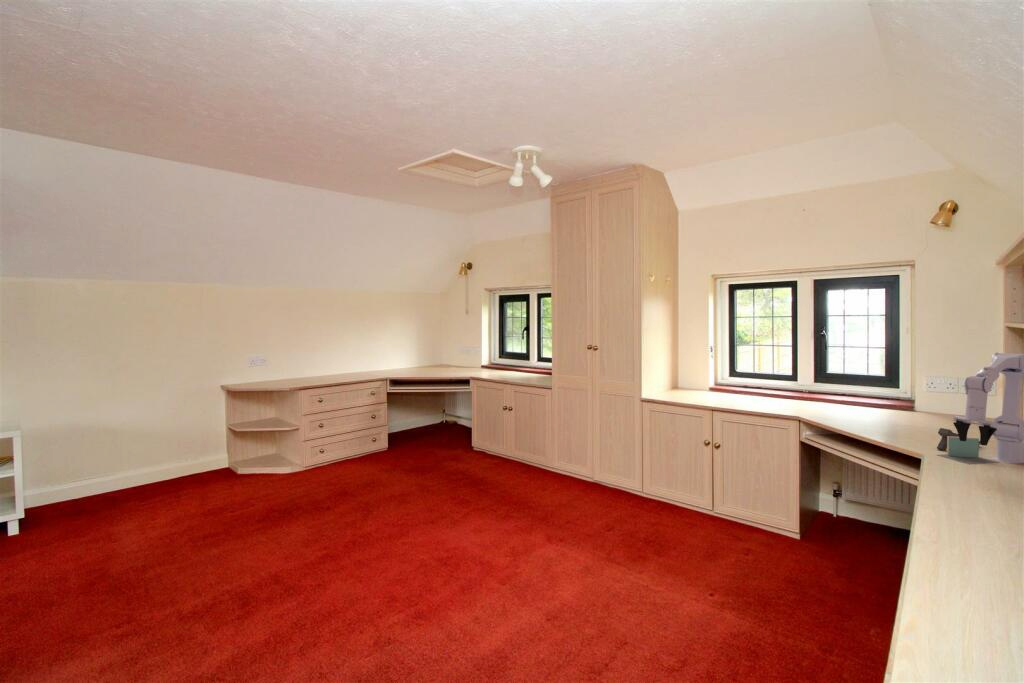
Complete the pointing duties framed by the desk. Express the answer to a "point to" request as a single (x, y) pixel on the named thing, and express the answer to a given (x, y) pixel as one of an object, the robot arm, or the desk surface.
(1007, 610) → the desk surface
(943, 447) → the handgun
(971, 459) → the mat
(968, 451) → the tile
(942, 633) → the desk surface
